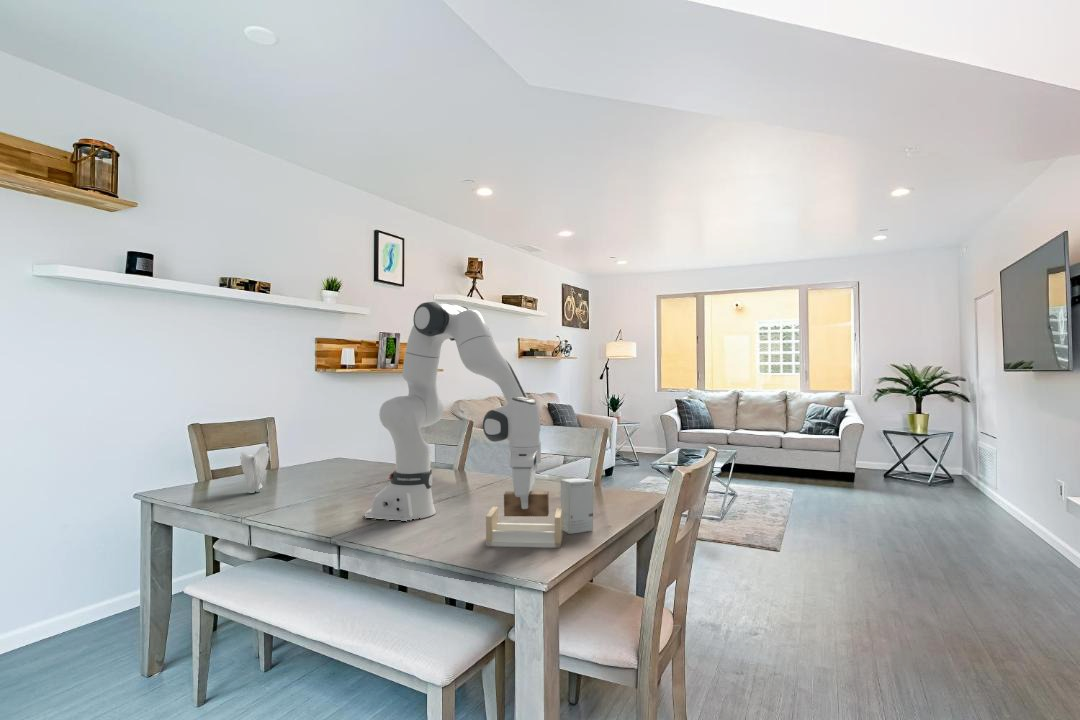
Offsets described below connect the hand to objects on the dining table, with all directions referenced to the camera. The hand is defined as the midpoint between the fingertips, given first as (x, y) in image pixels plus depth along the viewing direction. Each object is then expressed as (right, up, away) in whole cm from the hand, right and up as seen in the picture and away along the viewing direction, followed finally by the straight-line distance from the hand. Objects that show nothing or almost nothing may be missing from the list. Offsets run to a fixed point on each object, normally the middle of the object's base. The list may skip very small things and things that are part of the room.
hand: (526, 506), depth 151 cm
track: (0, -10, 0) cm, 10 cm away
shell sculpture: (-107, -11, +61) cm, 124 cm away
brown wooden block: (0, -2, 0) cm, 2 cm away
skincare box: (+15, -10, +10) cm, 20 cm away
